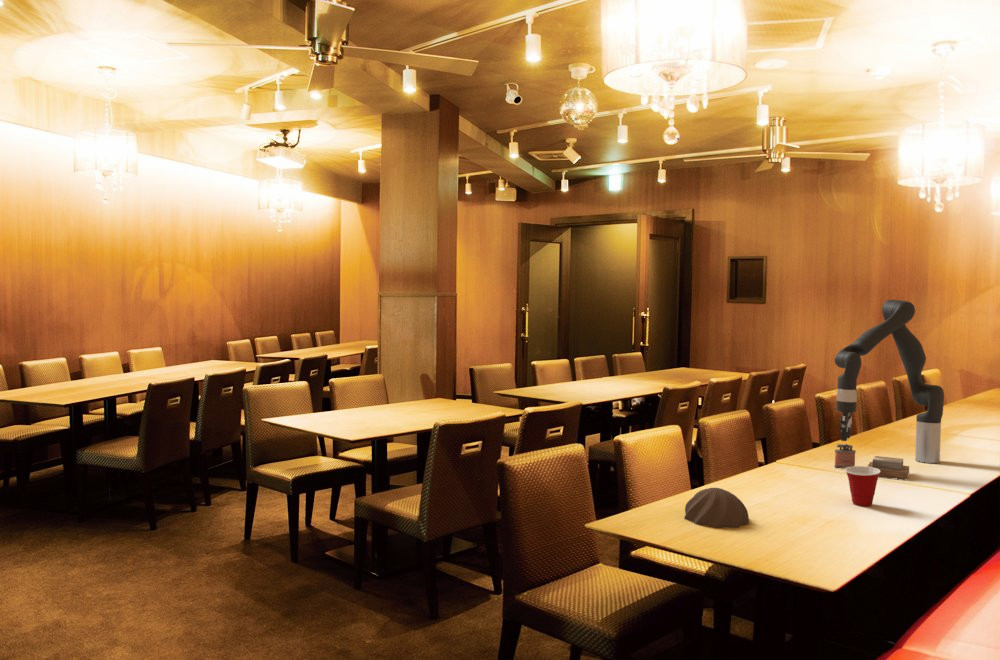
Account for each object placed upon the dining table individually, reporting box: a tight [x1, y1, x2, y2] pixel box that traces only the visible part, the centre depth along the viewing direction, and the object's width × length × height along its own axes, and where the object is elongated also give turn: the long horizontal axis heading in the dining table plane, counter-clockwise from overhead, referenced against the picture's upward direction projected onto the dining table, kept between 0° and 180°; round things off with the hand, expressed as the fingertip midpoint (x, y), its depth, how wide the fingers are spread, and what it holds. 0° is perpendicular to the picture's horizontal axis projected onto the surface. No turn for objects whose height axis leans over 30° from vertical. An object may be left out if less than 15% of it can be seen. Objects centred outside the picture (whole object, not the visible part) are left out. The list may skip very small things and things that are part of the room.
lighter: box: [833, 443, 856, 469], centre depth 306 cm, size 8×3×10 cm, turn 84°
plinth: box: [866, 455, 910, 480], centre depth 295 cm, size 14×14×6 cm
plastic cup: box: [844, 465, 880, 507], centre depth 249 cm, size 11×11×12 cm
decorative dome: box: [683, 487, 750, 529], centre depth 230 cm, size 19×20×10 cm
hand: (845, 439), depth 305 cm, fingers open, 8 cm apart
